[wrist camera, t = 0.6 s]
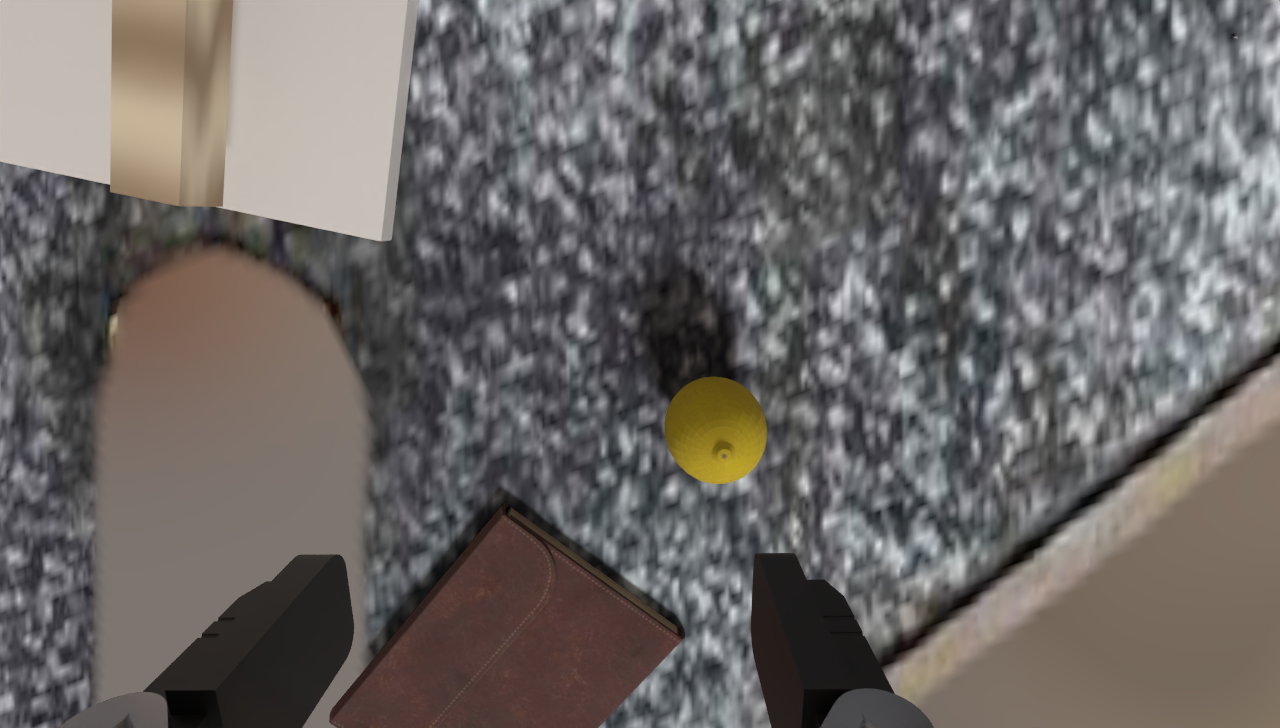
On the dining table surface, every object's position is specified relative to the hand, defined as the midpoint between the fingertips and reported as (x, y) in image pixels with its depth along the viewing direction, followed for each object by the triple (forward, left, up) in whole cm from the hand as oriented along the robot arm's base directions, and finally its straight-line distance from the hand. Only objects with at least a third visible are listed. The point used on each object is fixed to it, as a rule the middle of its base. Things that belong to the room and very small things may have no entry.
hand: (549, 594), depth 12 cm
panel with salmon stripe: (-12, -24, -26) cm, 37 cm away
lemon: (+3, +7, -26) cm, 27 cm away
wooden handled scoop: (-12, -21, -21) cm, 32 cm away
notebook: (+24, -2, -26) cm, 36 cm away
